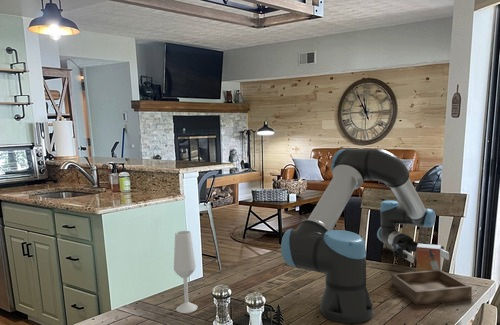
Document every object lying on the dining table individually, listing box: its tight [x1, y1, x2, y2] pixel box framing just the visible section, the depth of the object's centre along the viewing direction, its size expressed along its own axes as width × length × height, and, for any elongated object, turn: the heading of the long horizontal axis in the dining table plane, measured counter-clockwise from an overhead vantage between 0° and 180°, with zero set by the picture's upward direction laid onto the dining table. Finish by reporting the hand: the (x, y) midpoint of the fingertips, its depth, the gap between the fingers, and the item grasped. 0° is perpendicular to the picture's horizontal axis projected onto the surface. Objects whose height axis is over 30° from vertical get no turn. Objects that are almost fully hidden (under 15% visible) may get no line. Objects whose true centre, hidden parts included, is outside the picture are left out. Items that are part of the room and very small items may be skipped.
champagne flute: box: [173, 230, 199, 314], centre depth 123 cm, size 7×7×24 cm
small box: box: [416, 242, 442, 272], centre depth 144 cm, size 8×6×10 cm
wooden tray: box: [390, 269, 473, 306], centre depth 129 cm, size 18×16×4 cm
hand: (430, 257), depth 144 cm, fingers open, 13 cm apart
